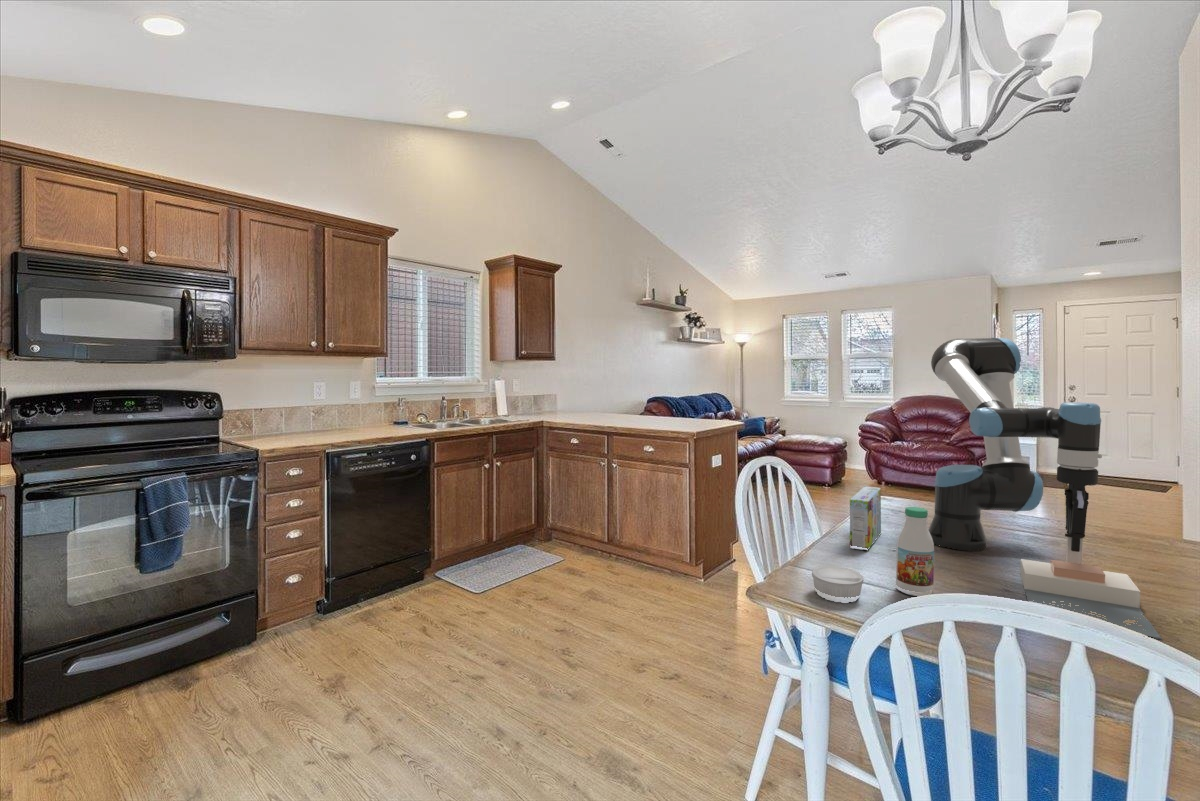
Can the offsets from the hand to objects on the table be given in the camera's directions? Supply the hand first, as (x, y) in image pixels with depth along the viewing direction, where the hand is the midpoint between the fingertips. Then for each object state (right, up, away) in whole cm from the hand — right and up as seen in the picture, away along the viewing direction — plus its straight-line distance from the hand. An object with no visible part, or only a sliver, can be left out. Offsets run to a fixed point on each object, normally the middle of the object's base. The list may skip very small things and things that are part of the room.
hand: (1073, 563), depth 135 cm
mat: (-10, -6, -15) cm, 19 cm away
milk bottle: (-41, -6, -3) cm, 41 cm away
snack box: (-34, -4, +35) cm, 49 cm away
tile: (-3, -2, -4) cm, 5 cm away
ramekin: (-60, -6, -5) cm, 60 cm away
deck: (-2, -6, -3) cm, 7 cm away
